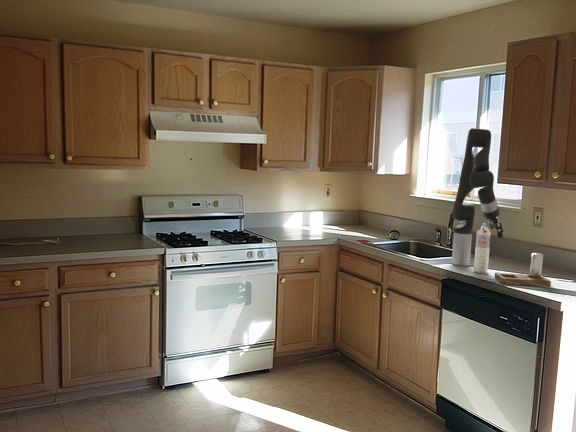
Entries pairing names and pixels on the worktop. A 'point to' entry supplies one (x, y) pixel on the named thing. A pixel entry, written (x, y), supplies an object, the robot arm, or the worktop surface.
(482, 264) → the water bottle
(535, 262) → the peg
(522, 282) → the wooden tray
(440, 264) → the worktop surface
